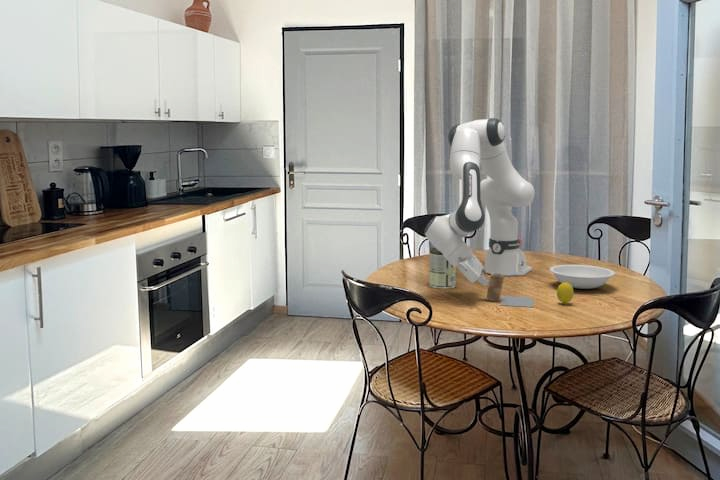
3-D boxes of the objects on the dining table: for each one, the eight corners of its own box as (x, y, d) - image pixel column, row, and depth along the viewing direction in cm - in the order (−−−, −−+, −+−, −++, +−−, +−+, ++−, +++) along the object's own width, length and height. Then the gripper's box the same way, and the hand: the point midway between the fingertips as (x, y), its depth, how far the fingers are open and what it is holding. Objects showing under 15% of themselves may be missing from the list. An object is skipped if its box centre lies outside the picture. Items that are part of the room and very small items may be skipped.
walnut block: (485, 299, 264) (490, 274, 263) (486, 296, 269) (491, 272, 267) (498, 302, 264) (503, 277, 262) (499, 299, 268) (504, 274, 266)
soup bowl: (613, 297, 272) (614, 279, 271) (545, 291, 280) (545, 274, 279) (615, 283, 294) (616, 267, 293) (552, 278, 303) (553, 262, 301)
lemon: (554, 302, 264) (555, 280, 262) (569, 302, 264) (570, 279, 263) (559, 306, 258) (560, 283, 257) (575, 306, 259) (576, 283, 257)
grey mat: (500, 305, 259) (500, 304, 259) (501, 296, 272) (501, 295, 272) (533, 307, 257) (533, 306, 256) (533, 297, 270) (533, 297, 270)
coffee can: (432, 282, 295) (433, 246, 293) (458, 284, 292) (459, 248, 289) (425, 287, 285) (426, 250, 283) (452, 289, 282) (453, 252, 280)
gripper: (464, 255, 255) (492, 285, 255) (469, 245, 275) (495, 272, 275) (450, 267, 257) (478, 297, 257) (456, 256, 277) (482, 284, 276)
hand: (487, 284), depth 266 cm, fingers closed
